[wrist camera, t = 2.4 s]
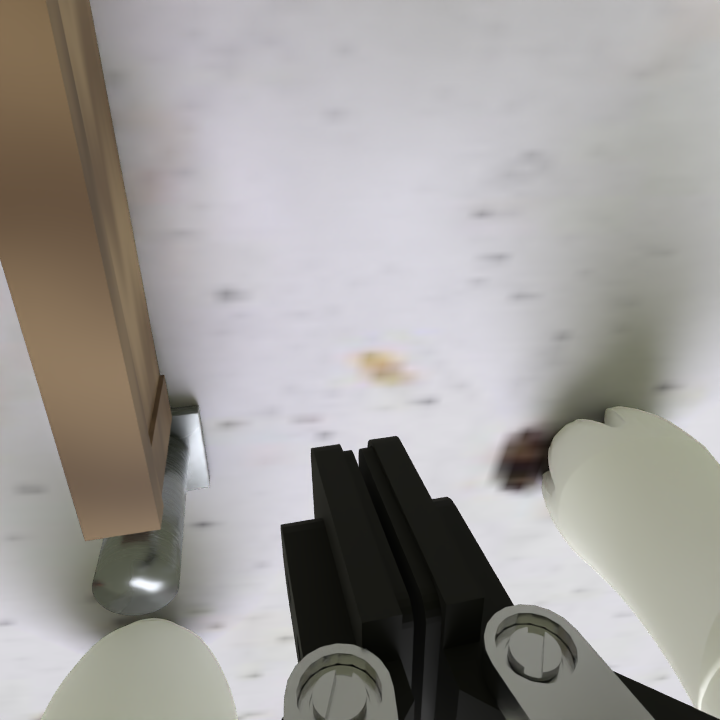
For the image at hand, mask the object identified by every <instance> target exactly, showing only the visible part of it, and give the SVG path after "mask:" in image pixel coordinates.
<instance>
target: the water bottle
mask: <svg viewBox="0 0 720 720" xmlns="http://www.w3.org/2000/svg"><path fill="white" fill-rule="evenodd" d="M548 463H549V469H550V471H547V472H545V473H544V474H543V475H542V494H543V497H544V501H545V504H546V507H547V510H548V512H549V514H550V517H551V519H552V520H553V522H554V524H555V526H556V527H557V529H558V530H559V532H560V534H561V535H562V537H563V538H564V539H565V541H566V542H567V543H568V545H569V546H570V547H571V549H572V550H573V551H574V552H575V553H576V554H577V555H578V556H579V557H580V558H581V559H582V560H583V561H585V562H586V563H587V564H588V565H589V566H590V567H591V568H593V569H594V570H595V571H596V572H597V573H598V574H599V575H600V576H601V577H602V578H603V579H604V580H605V581H606V582H607V583H608V584H609V585H610V586H611V587H612V588H613V589H614V590H615V591H616V592H617V593H618V594H619V596H620V597H621V598H622V599H623V600H624V602H625V603H626V604H627V605H628V607H629V608H630V609H631V610H632V611H633V613H634V614H635V615H636V616H637V618H638V619H639V620H640V622H641V623H642V624H643V626H644V627H645V629H646V630H647V631H648V633H649V634H650V635H651V637H652V638H653V640H654V641H655V642H656V644H657V645H658V647H659V648H660V650H661V652H662V653H663V655H664V656H665V658H666V659H667V661H668V662H669V664H670V666H671V667H672V669H673V670H674V672H675V674H676V675H677V677H678V679H679V681H680V682H681V684H682V686H683V688H684V689H685V691H686V693H687V695H688V696H689V698H690V700H691V702H692V704H693V706H694V708H696V709H698V710H700V711H703V712H705V713H707V714H709V715H712V716H714V717H716V718H718V719H720V464H719V463H718V462H717V461H716V460H715V458H714V457H713V456H712V455H711V454H710V452H709V451H708V450H707V449H706V447H705V446H703V445H702V444H701V443H700V442H698V441H697V440H696V439H694V438H693V437H692V436H691V435H689V434H688V433H686V432H685V431H683V430H682V429H680V428H679V427H677V426H676V425H674V424H673V423H671V422H670V421H668V420H666V419H664V418H662V417H659V416H657V415H655V414H652V413H649V412H646V411H642V410H639V409H636V408H628V407H621V406H616V407H612V408H607V409H606V411H605V416H604V424H603V423H600V422H597V421H593V420H587V419H576V420H575V421H574V422H571V423H568V424H566V425H565V426H564V427H563V428H562V429H561V430H560V431H559V432H558V433H557V434H556V435H555V436H554V438H553V440H552V442H551V446H550V447H549V451H548Z"/></svg>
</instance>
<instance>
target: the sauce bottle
mask: <svg viewBox="0 0 720 720" xmlns="http://www.w3.org/2000/svg"><path fill="white" fill-rule="evenodd" d="M41 720H238V718H237V713H236V707H235V704H234V700H233V696H232V693H231V690H230V687H229V685H228V682H227V680H226V678H225V675H224V673H223V671H222V669H221V667H220V665H219V663H218V661H217V659H216V658H215V656H214V655H213V653H212V652H211V650H210V649H209V648H208V646H207V645H206V644H205V643H204V641H203V640H202V639H201V638H200V637H199V636H198V635H196V634H195V633H194V632H192V631H190V630H188V629H187V628H185V627H182V626H179V625H177V624H175V623H174V622H171V621H168V620H165V619H159V618H149V619H142V620H139V621H136V622H133V623H131V624H129V625H127V626H124V627H122V628H120V629H117V630H115V631H113V632H111V633H110V634H108V635H106V636H105V637H103V638H102V639H101V640H100V641H98V642H97V643H96V644H95V645H94V646H93V647H92V648H91V649H90V650H89V651H88V652H87V653H86V654H85V655H84V656H83V657H82V658H81V659H80V661H79V662H78V663H77V664H76V665H75V667H74V668H73V669H72V670H71V671H70V673H69V674H68V675H67V676H66V678H65V679H64V680H63V682H62V683H61V685H60V686H59V688H58V689H57V691H56V692H55V694H54V695H53V697H52V699H51V701H50V702H49V704H48V706H47V708H46V710H45V712H44V714H43V716H42V718H41Z"/></svg>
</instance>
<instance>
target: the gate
mask: <svg viewBox="0 0 720 720" xmlns="http://www.w3.org/2000/svg"><path fill="white" fill-rule="evenodd" d="M0 260H1V263H2V267H3V270H4V273H5V277H6V280H7V283H8V287H9V290H10V293H11V296H12V300H13V303H14V306H15V310H16V313H17V316H18V320H19V323H20V326H21V330H22V333H23V336H24V340H25V343H26V346H27V350H28V353H29V356H30V360H31V363H32V366H33V370H34V373H35V376H36V380H37V383H38V386H39V390H40V393H41V396H42V400H43V403H44V406H45V410H46V413H47V416H48V420H49V423H50V426H51V430H52V433H53V436H54V439H55V443H56V446H57V449H58V453H59V456H60V459H61V463H62V466H63V469H64V473H65V476H66V479H67V483H68V486H69V489H70V493H71V496H72V499H73V503H74V506H75V509H76V513H77V516H78V519H79V523H80V526H81V529H82V533H83V536H84V539H85V541H88V540H95V539H101V538H108V537H114V536H121V535H128V534H134V533H141V532H147V531H154V530H160V529H161V524H162V516H163V508H164V505H163V500H162V489H163V482H164V474H165V467H166V459H167V452H168V444H169V437H170V429H171V422H172V414H171V409H170V403H169V398H168V393H167V387H166V382H165V376H164V375H160V373H159V368H158V363H157V357H156V352H155V347H154V341H153V336H152V331H151V326H150V320H149V315H148V310H147V304H146V299H145V294H144V288H143V283H142V278H141V272H140V267H139V262H138V257H137V251H136V246H135V241H134V235H133V230H132V225H131V219H130V214H129V209H128V203H127V198H126V193H125V187H124V182H123V177H122V172H121V166H120V161H119V156H118V150H117V145H116V140H115V134H114V129H113V124H112V118H111V113H110V108H109V103H108V97H107V92H106V87H105V81H104V76H103V71H102V65H101V60H100V55H99V49H98V44H97V39H96V34H95V28H94V23H93V18H92V12H91V7H90V2H89V0H0Z"/></svg>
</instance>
